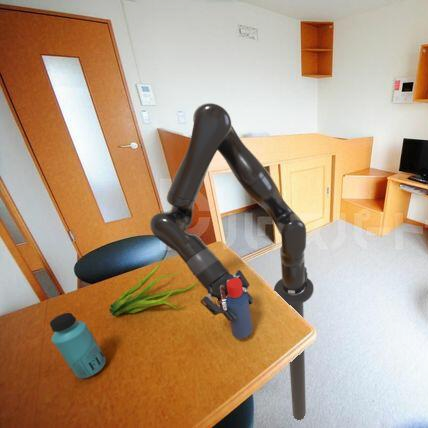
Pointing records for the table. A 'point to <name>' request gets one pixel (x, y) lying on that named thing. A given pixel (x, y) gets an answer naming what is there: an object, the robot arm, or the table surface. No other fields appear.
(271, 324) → the table surface
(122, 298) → the decorative plant
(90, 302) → the table surface
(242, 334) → the water bottle
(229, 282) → the cap
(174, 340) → the table surface
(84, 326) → the beverage bottle
